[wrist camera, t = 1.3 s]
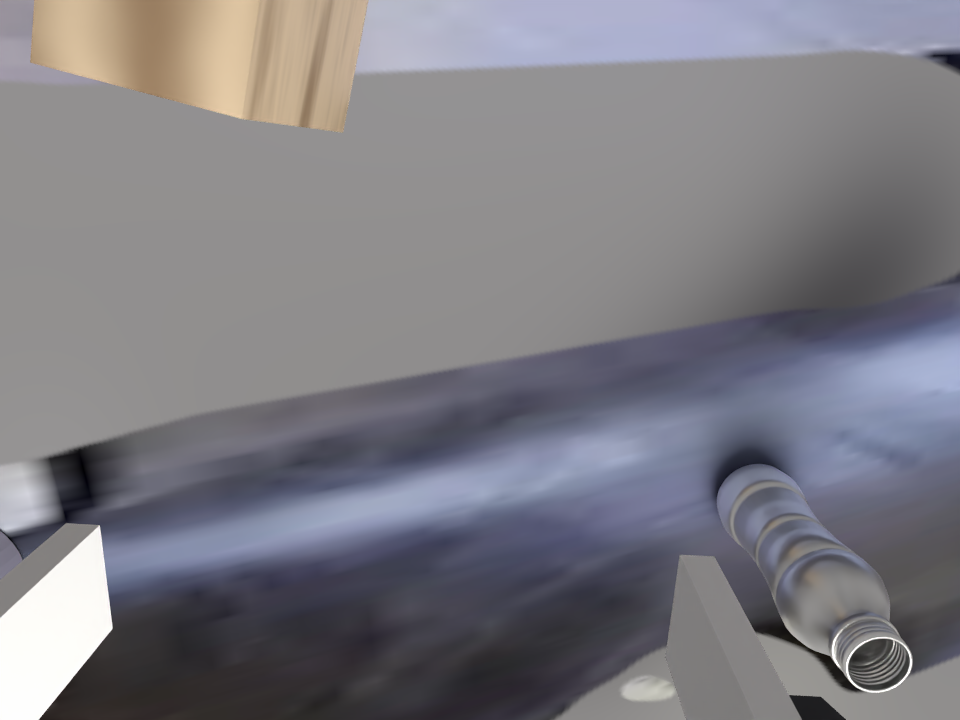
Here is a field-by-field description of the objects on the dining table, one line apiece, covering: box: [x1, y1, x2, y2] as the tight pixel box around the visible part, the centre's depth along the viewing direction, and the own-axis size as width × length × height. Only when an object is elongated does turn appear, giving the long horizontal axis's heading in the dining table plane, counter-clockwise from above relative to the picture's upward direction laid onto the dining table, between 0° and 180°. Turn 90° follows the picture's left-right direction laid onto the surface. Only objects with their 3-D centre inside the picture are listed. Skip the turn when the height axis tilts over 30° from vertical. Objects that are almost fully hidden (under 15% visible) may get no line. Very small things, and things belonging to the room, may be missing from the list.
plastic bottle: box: [717, 464, 913, 693], centre depth 47 cm, size 6×7×20 cm
